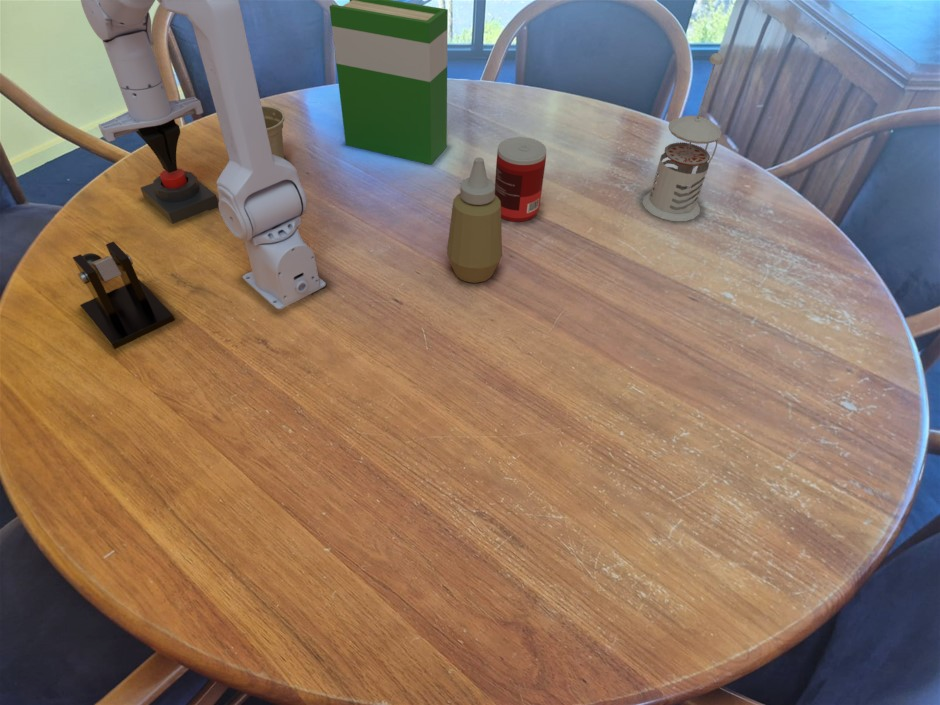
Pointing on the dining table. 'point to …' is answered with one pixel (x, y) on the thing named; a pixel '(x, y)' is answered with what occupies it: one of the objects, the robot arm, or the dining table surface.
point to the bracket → (121, 302)
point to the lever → (103, 266)
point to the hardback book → (392, 76)
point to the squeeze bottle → (475, 227)
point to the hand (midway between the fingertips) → (170, 169)
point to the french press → (683, 166)
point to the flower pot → (274, 129)
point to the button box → (180, 198)
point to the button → (173, 178)
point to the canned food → (519, 177)
